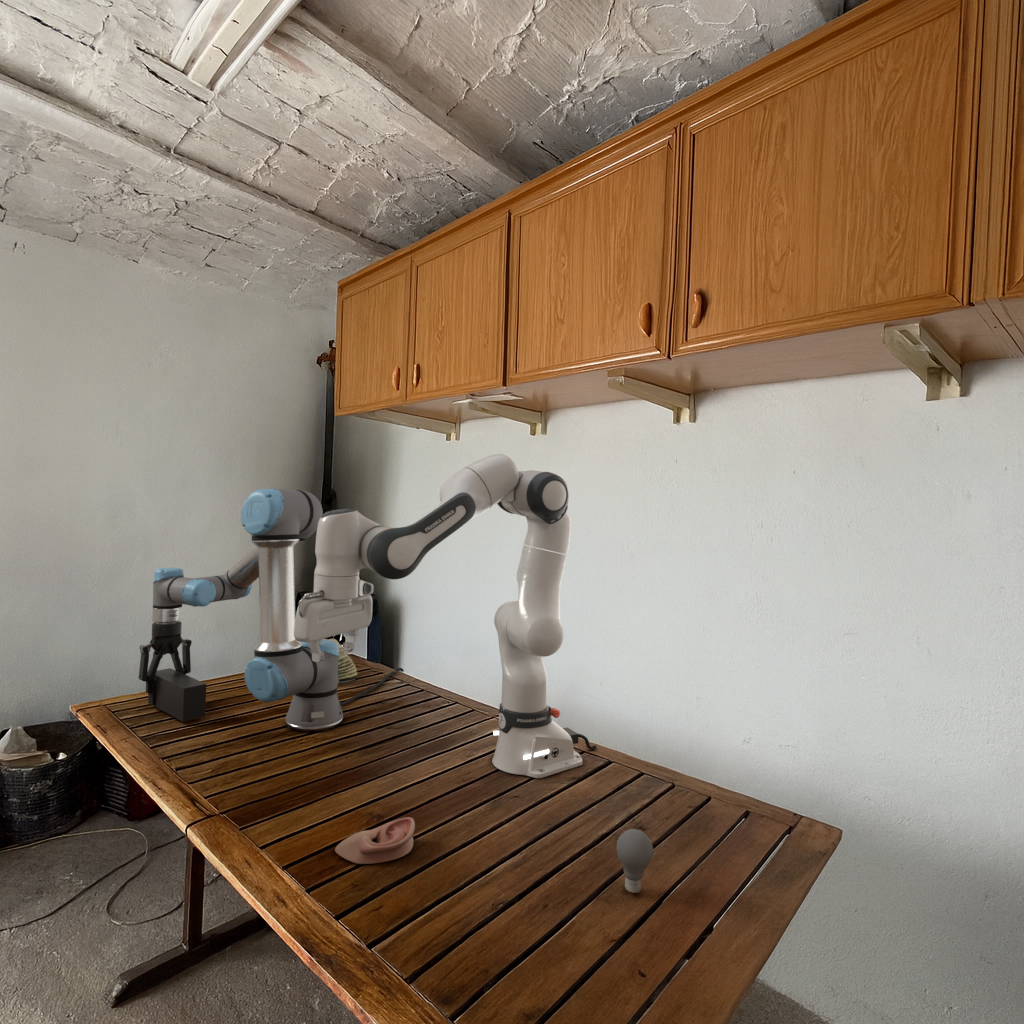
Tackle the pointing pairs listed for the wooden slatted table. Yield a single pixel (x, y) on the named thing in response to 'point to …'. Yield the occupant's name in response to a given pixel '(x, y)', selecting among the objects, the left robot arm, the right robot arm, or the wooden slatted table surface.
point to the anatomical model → (379, 843)
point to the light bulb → (634, 857)
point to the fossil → (345, 665)
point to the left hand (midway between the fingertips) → (164, 700)
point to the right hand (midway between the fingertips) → (333, 656)
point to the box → (179, 695)
